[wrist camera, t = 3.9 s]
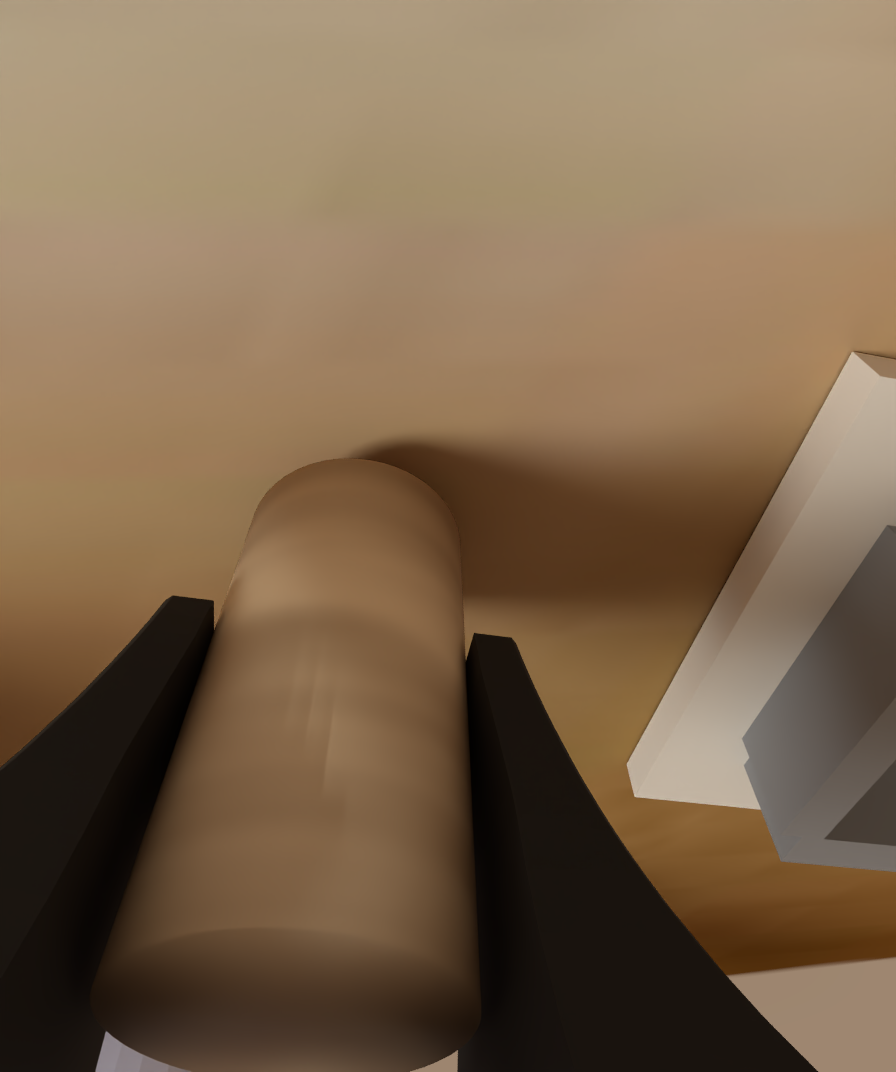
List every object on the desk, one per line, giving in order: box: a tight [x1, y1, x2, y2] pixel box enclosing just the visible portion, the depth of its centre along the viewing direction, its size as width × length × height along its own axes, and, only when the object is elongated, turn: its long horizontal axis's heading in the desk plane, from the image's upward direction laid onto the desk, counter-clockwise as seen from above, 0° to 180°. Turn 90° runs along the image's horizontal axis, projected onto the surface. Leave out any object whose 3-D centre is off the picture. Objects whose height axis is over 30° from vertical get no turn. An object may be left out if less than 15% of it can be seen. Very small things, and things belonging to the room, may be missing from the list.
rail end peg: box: [90, 458, 481, 1072], centre depth 11 cm, size 4×4×8 cm
